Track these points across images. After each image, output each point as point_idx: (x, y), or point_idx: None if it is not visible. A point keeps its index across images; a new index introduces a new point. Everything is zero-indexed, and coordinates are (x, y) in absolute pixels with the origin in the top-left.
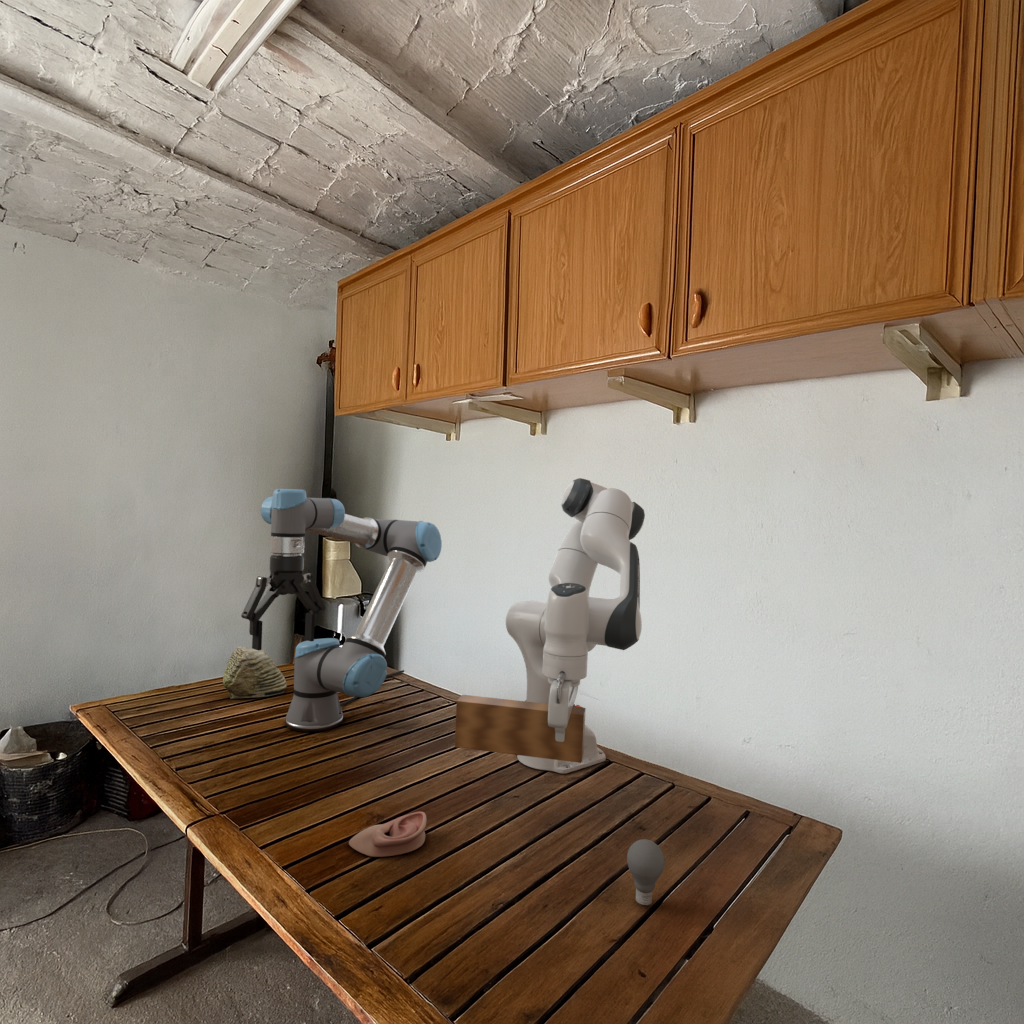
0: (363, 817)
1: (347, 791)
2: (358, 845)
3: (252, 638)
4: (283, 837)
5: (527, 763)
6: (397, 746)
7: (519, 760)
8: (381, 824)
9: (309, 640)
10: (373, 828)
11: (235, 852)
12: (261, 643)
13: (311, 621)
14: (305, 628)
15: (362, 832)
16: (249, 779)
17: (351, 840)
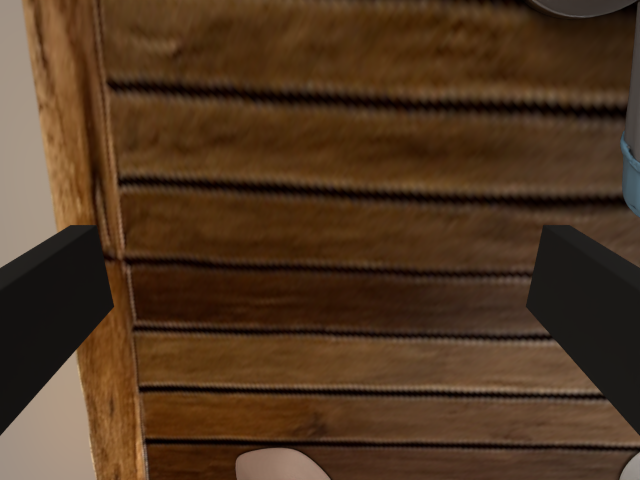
0: (301, 417)
1: (340, 341)
2: (239, 476)
3: (17, 260)
4: (178, 387)
5: (626, 475)
6: None
7: (636, 456)
8: (295, 463)
9: (533, 288)
10: (270, 478)
11: (105, 376)
12: (87, 335)
13: (636, 427)
14: (603, 272)
15: (258, 466)
16: (225, 166)
17: (240, 462)
